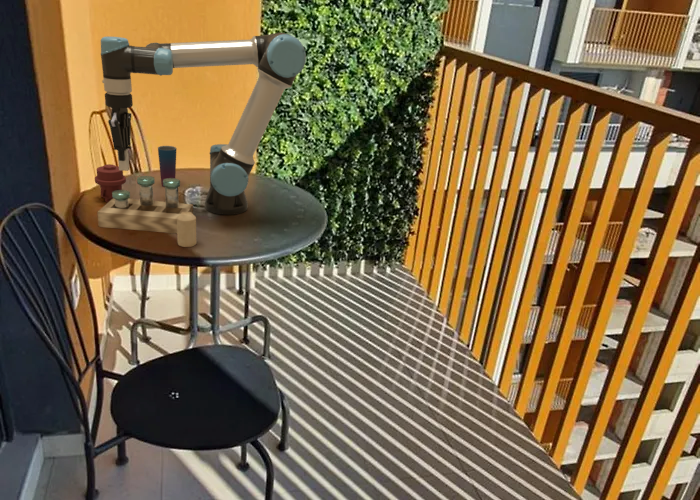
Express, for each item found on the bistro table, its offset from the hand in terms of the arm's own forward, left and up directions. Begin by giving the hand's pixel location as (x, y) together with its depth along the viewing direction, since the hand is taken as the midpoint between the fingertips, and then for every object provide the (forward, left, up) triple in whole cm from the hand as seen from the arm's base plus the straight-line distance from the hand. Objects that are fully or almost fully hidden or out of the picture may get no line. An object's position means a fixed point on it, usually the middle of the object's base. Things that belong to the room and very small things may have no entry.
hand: (124, 169), depth 169 cm
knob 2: (-15, 0, -11) cm, 18 cm away
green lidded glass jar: (-7, 0, -11) cm, 12 cm away
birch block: (-7, 0, -17) cm, 18 cm away
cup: (-3, -39, -17) cm, 43 cm away
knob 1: (+1, 0, -16) cm, 16 cm away
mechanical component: (+11, -18, -17) cm, 27 cm away
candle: (-23, +14, -17) cm, 32 cm away
